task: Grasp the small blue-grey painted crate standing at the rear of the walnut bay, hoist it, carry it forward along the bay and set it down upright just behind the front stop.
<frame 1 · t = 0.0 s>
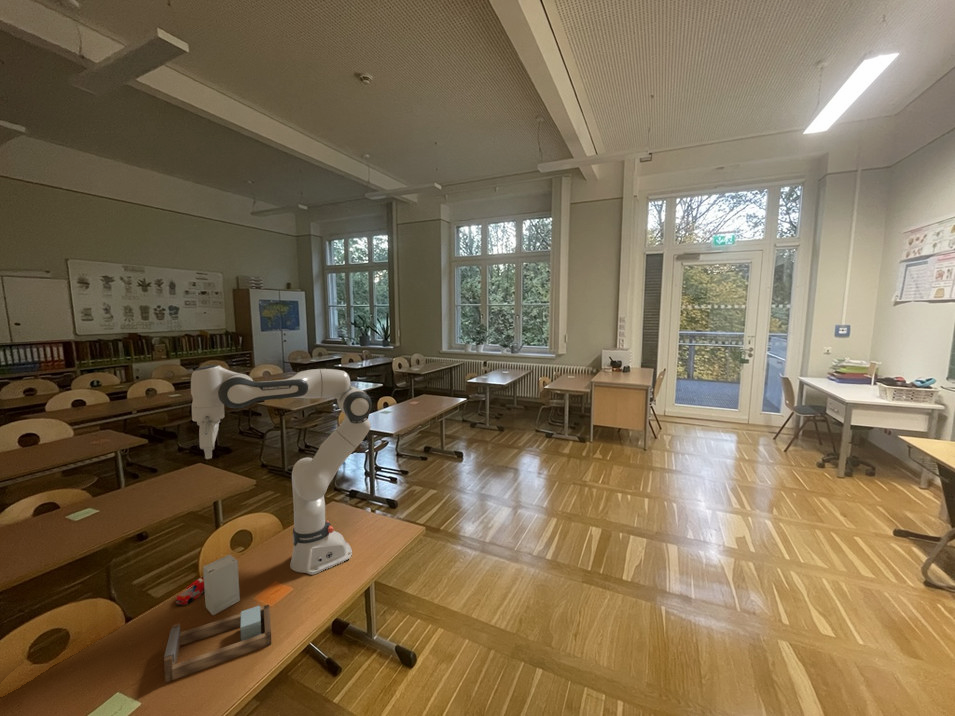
hand: (210, 453, 128), 48 cm above the table, fingers open, 8 cm apart
skincare box: (222, 605, 124), on the table
bay: (222, 644, 109), on the table
race car: (198, 593, 129), on the table
crate: (251, 634, 113), resting in bay
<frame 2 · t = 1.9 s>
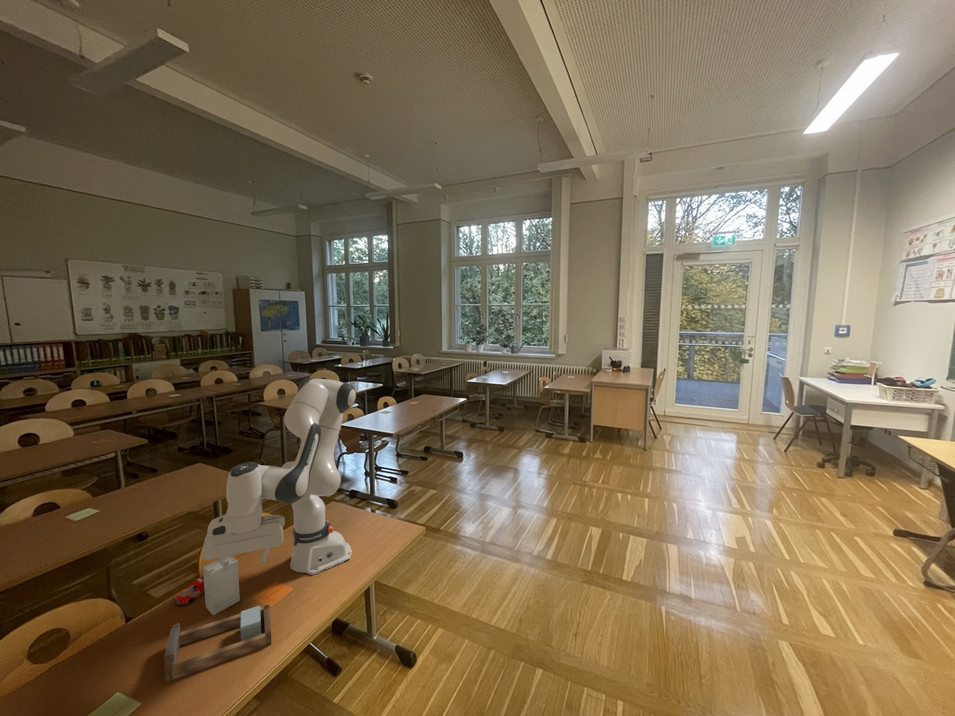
hand: (245, 565, 111), 21 cm above the table, fingers open, 8 cm apart
nothing on the table moved.
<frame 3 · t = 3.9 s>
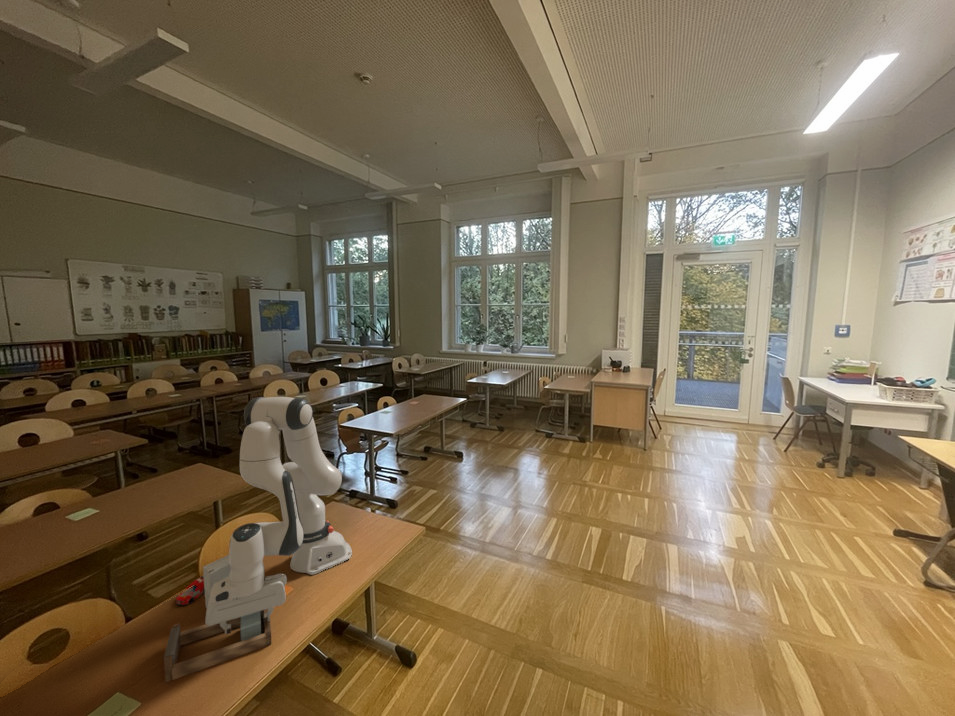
hand: (247, 626, 112), 3 cm above the table, fingers open, 8 cm apart
nothing on the table moved.
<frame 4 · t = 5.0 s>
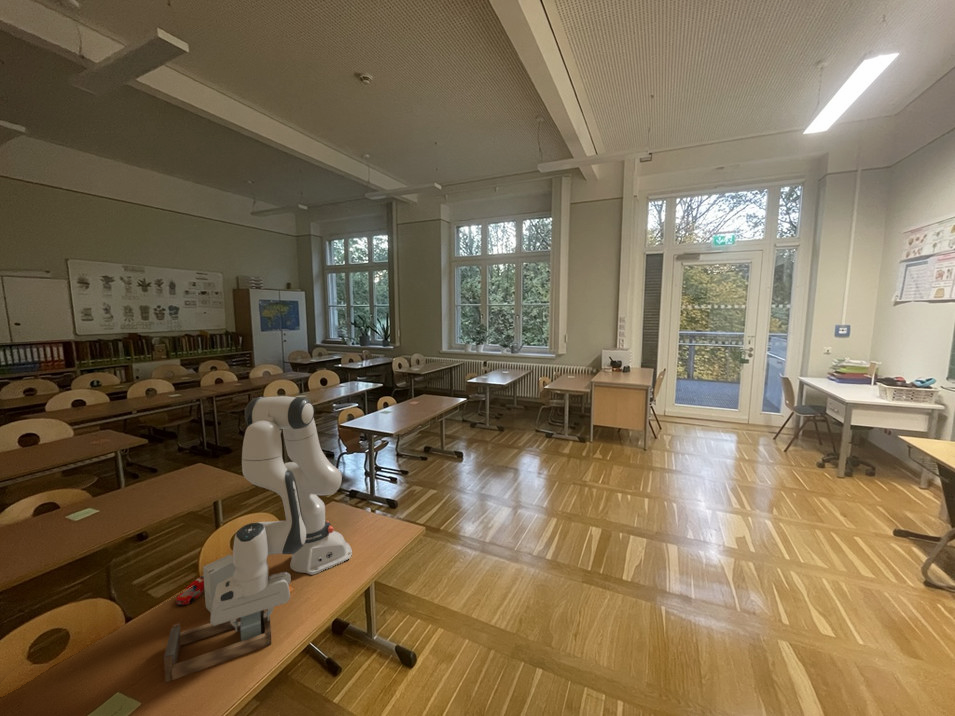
hand: (252, 625, 112), 3 cm above the table, fingers open, 6 cm apart
crate: (251, 634, 113), resting in bay, touching gripper
everything else where it was.
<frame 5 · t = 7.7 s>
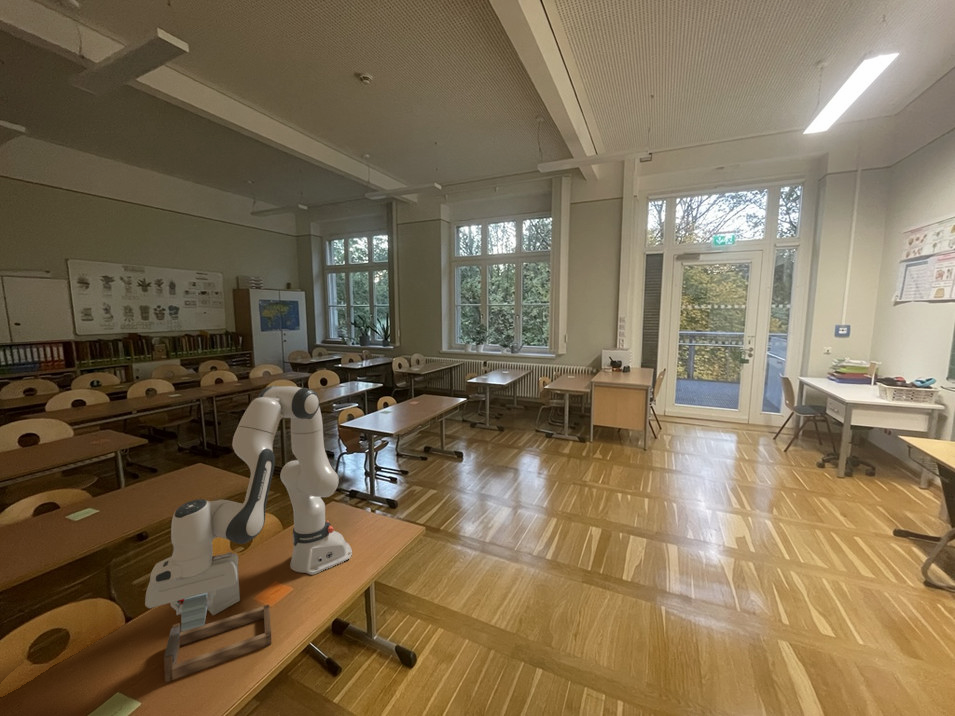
hand: (194, 608, 105), 13 cm above the table, fingers closed on crate, 5 cm apart
crate: (194, 619, 105), point 10 cm above the table, touching gripper
everything else where it was.
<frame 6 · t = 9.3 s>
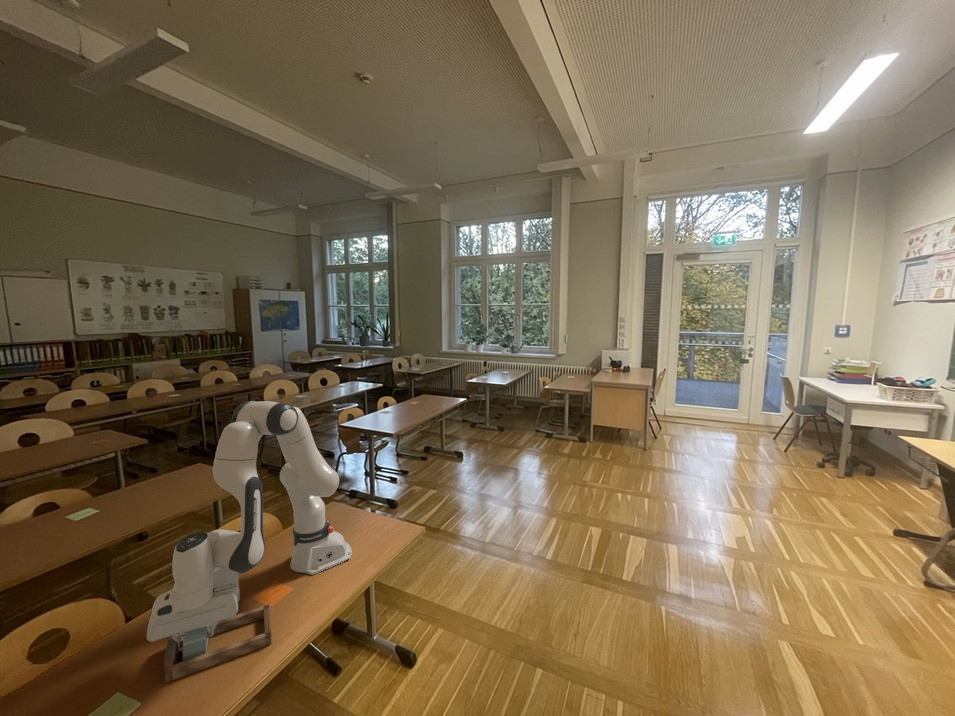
hand: (196, 640, 106), 4 cm above the table, fingers closed on crate, 5 cm apart
crate: (196, 650, 106), point 1 cm above the table, touching gripper
everything else where it was.
when the fingers open (4 cm above the table, at t = 9.9 s): crate stays where it is, resting in bay.
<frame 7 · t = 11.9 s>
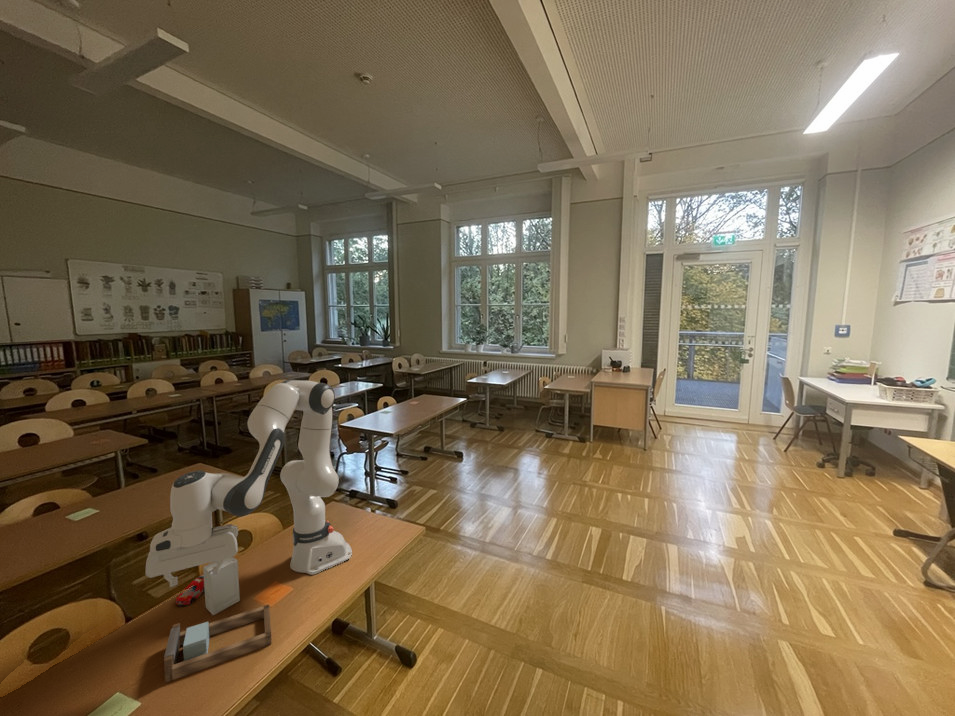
hand: (195, 579, 105), 21 cm above the table, fingers open, 8 cm apart
crate: (197, 653, 106), resting in bay
everything else where it was.
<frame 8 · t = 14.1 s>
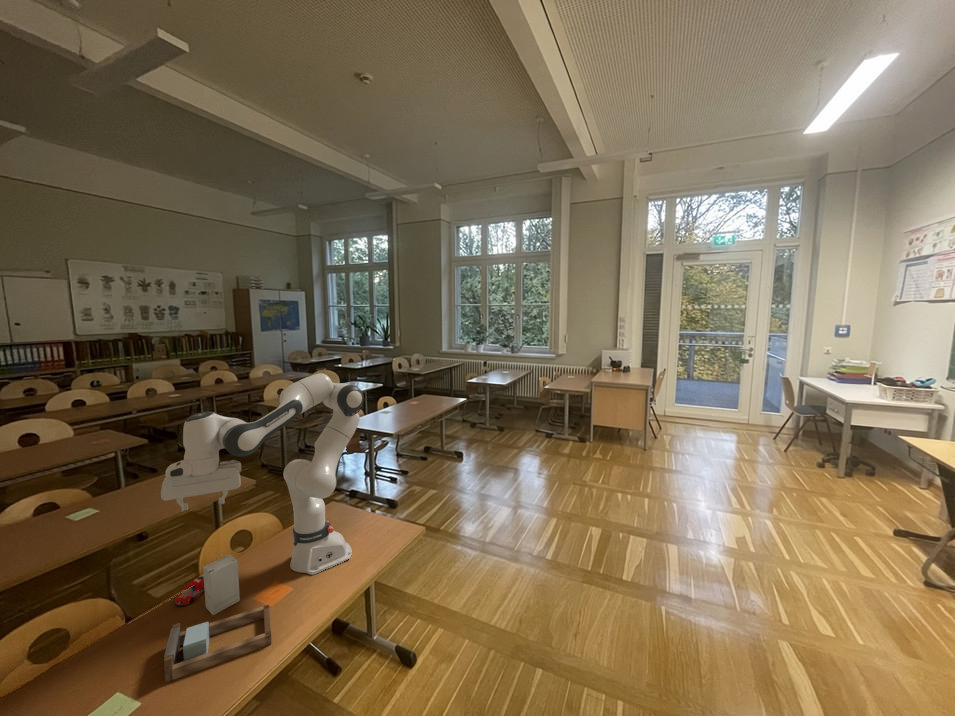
hand: (203, 506, 120), 34 cm above the table, fingers open, 8 cm apart
nothing on the table moved.
at the end: crate inside the target area (0.3 cm from its centre), resting in bay; crate tilted 0°; the gripper is holding nothing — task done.
